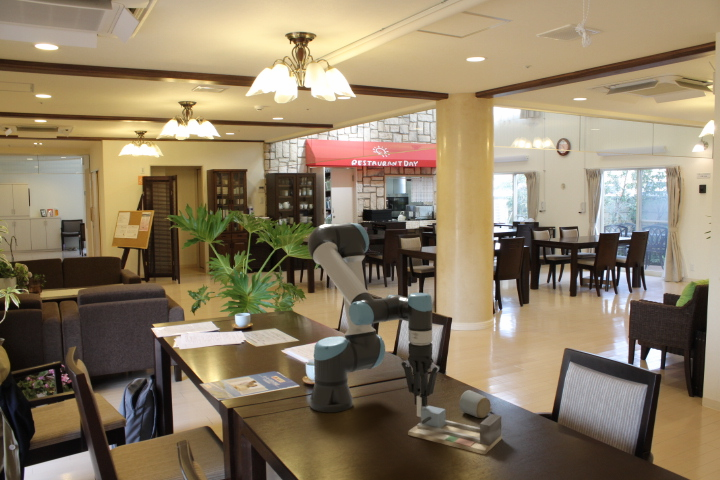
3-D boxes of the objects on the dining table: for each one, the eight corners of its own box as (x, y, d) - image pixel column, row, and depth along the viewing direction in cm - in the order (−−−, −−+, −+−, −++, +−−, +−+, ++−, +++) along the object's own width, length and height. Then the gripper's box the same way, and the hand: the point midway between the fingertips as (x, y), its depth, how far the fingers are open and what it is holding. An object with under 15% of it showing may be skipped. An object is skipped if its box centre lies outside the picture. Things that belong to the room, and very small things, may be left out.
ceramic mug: (477, 421, 188) (478, 398, 187) (458, 414, 194) (459, 392, 194) (498, 414, 194) (498, 392, 194) (479, 407, 201) (479, 385, 200)
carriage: (414, 430, 178) (414, 414, 177) (428, 420, 185) (428, 405, 185) (431, 434, 174) (431, 418, 174) (445, 424, 182) (445, 409, 182)
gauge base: (408, 434, 178) (408, 412, 177) (428, 421, 188) (428, 399, 188) (484, 454, 164) (484, 429, 163) (501, 438, 174) (501, 415, 174)
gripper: (396, 342, 183) (397, 415, 185) (433, 347, 176) (433, 423, 177) (408, 337, 189) (409, 407, 191) (444, 342, 182) (444, 415, 183)
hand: (420, 415), depth 184 cm, fingers closed
